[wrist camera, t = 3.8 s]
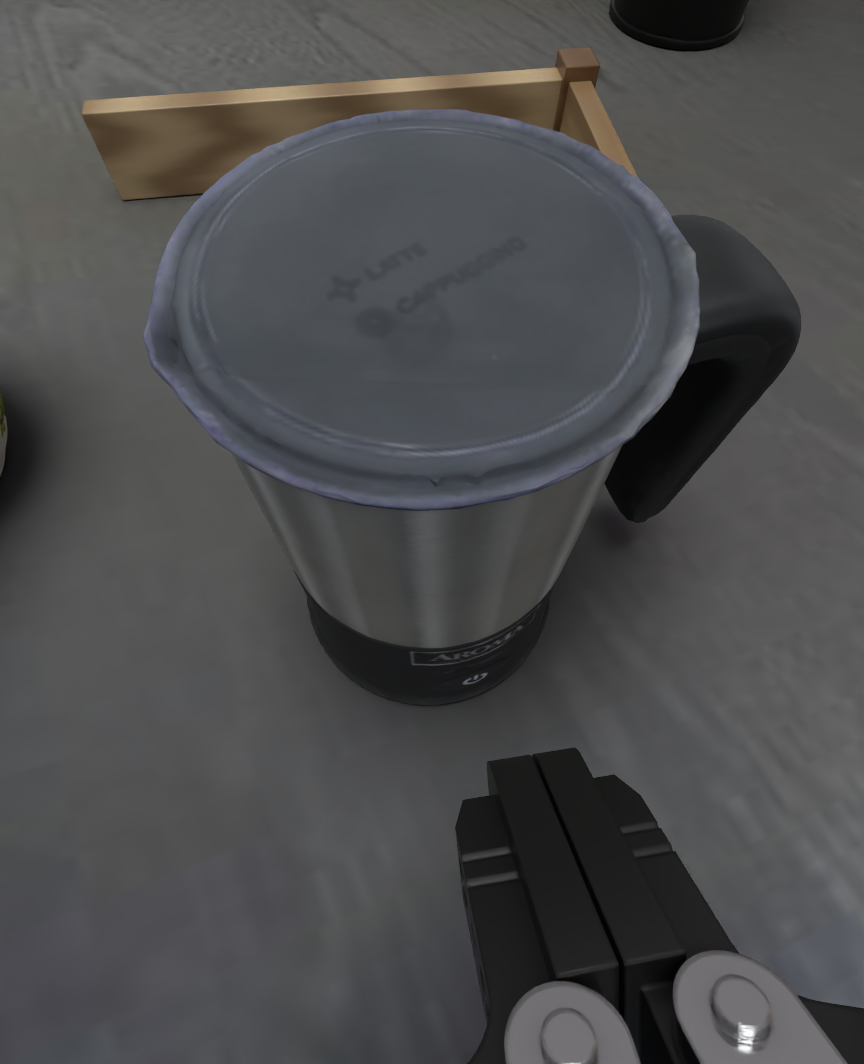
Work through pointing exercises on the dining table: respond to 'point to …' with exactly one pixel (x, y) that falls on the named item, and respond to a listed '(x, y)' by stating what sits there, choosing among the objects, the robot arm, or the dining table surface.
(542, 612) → the milk frother
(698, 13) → the french press
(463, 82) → the corner rail
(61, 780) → the dining table surface
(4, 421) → the pitcher
